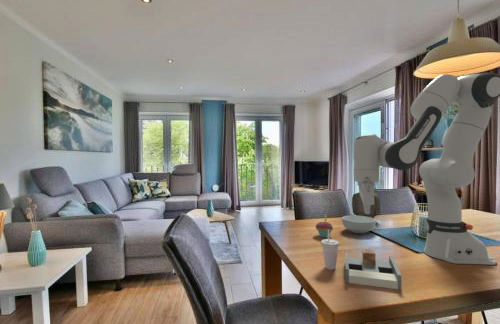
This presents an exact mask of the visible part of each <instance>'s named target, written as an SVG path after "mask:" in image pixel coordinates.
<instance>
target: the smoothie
mask: <svg viewBox="0 0 500 324" xmlns="http://www.w3.org/2000/svg"><path fill="white" fill-rule="evenodd" d="M320 243H321V246H322V254H323V260H324V267H325V269H327V270H329V271H331V270H336V269H337V262H338V260H337V258H338V251H339V246H340V242H339V240H337V239H333V238H330V236H329V230H328V237H327V238H326V239H325V238H324V239H321V242H320Z"/></svg>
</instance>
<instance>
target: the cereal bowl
mask: <svg viewBox="0 0 500 324" xmlns="http://www.w3.org/2000/svg"><path fill="white" fill-rule="evenodd" d="M341 219H342V220H341V222H342V223H341V224H342V225H343V226H344V228H345V229H347V230H348V231H350V233H351V232H352V233H355V234H366V233H367V232H368V233H369V232H370V231H373V230H374V229H375V227H376V224H377V223H376V222H377V221H376V219H375V218H374V219H373V218H372V217H366V216H357V215H344V216H342V217H341Z"/></svg>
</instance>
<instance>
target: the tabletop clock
mask: <svg viewBox="0 0 500 324" xmlns="http://www.w3.org/2000/svg"><path fill="white" fill-rule="evenodd" d="M351 209H352V213H353V215H354V216H366V217H370V218H373V219H375V217H377V216H378V215H379V213H380V210H381V199H380V195H379V194H378V193H377V192H374V205H371V206H370V214H365V211H364V206H363V202H362V199H361V197H360V193H359V191H358V192H356V193H354V194H352V198H351Z"/></svg>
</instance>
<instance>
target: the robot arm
mask: <svg viewBox="0 0 500 324" xmlns="http://www.w3.org/2000/svg"><path fill="white" fill-rule="evenodd" d="M499 97H500V74H498V73H494V72H482V73H473V74H472V73H471V74H465V75H462V76H455V75H452V74H448V73H447V74H440V75H438V76H436V77H435V78H434V79H432V80H431V81H430V82H429V83H428V84H427V85H426V86H424V88H423V90H422V91H420V93H418V95H417V96H416V98H415V99H414V100H413V101H412V103H411V106H410V108H409V110H410V111H409V112H410V114H411V116H412V118H413V119H415V120H416V121H415V123H414V124H413V125H412V126H411V128H410V129H409V131H408V133H407V134H406V135H405V137H403V138H402V139H399V140H397V141H395V142H390V141H388V140H386V139H383V138H381V137H380V136H377V134H375V133H370V134H364V135H361V136H358V137H356V138H355V139H354V144H353V160H354V166H353V181H354V182H357V186H358V192H359V193H360V197H361V199H362V202H363V206H364V211H365V214H370V206H371V205H374V193H375V186H376V183H378V182H380V171H379V169H380V167H383V168H388V169H394V170H398V171H408V170H410V169H412V168H413V167H415V166H416V164H417V163H418V162H419V159H420V156H421V152H422V150H423V148H424V146H425V144H426V143H427V142H428V140H429V138H430V137H431V136H432V135H433V133H434V131H435V129H436V128H437V127H438V125H439V123H440V122H441V119H442V117H443V115H444V114H445V112H446V111H447V110H448V109H449V108H450V106H452V105H456V106H458V110H457V113H456V114H455V116H454V118H453V119H452V120H451V123H450V125H449V127H448V128H447V130H446V133H445V135H444V136H443V138H442V141H441V143H442V151H441V155H440V157H439V158H431V159H429V160H426V161H424V162H422V163H421V165H420V166H419V169H418V174H419V176H420V178H421V179H422V182H423V186H424V190H425V195H426V200H427V218H426V221H425V222H426V223H425V224H426V225H425V228H426V232H427V233H426V240H425V241H426V242H425V245H424V248H423V253H424V254H426V255H428V256H430V257H432V258H435V259H439V260H442V261H445V262H447V263H450V264H458V265H459V264H460V265H461V264H463V265H493V266H495V265H497V259H496V258H495V257H494V256H493V255H491V254H489V253H488V248H487V245H486V244H485V243H484V242H483V241H482V240H480V239H479V238H477V237H476V236H475V235H474V234H472V233H470V232H469V231H472V230H473V229H474V227H473V225H472V224H469V223H466V222H465V221H463V220H462V217H463V216H462V214H463V213H462V201H461V198H460V197H459V196H458V194H457V191H456V188H462V187H463V188H464V187H466V186H469V185H470V184H472V182H473V181H474V179H475V176H476V173H475V172H476V171H475V169H474V167H473V162H474V160H473V159H474V156H475V151H476V150H477V147H478V145H479V143H480V141H481V139H482V137H483V135H484V134H485V132H486V129H487V127H488V124H489V122H490V120H491V115H492V112H493V109H492V105H494V104H495V102H496V101H497V100H498V99H499ZM468 230H469V231H468Z"/></svg>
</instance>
